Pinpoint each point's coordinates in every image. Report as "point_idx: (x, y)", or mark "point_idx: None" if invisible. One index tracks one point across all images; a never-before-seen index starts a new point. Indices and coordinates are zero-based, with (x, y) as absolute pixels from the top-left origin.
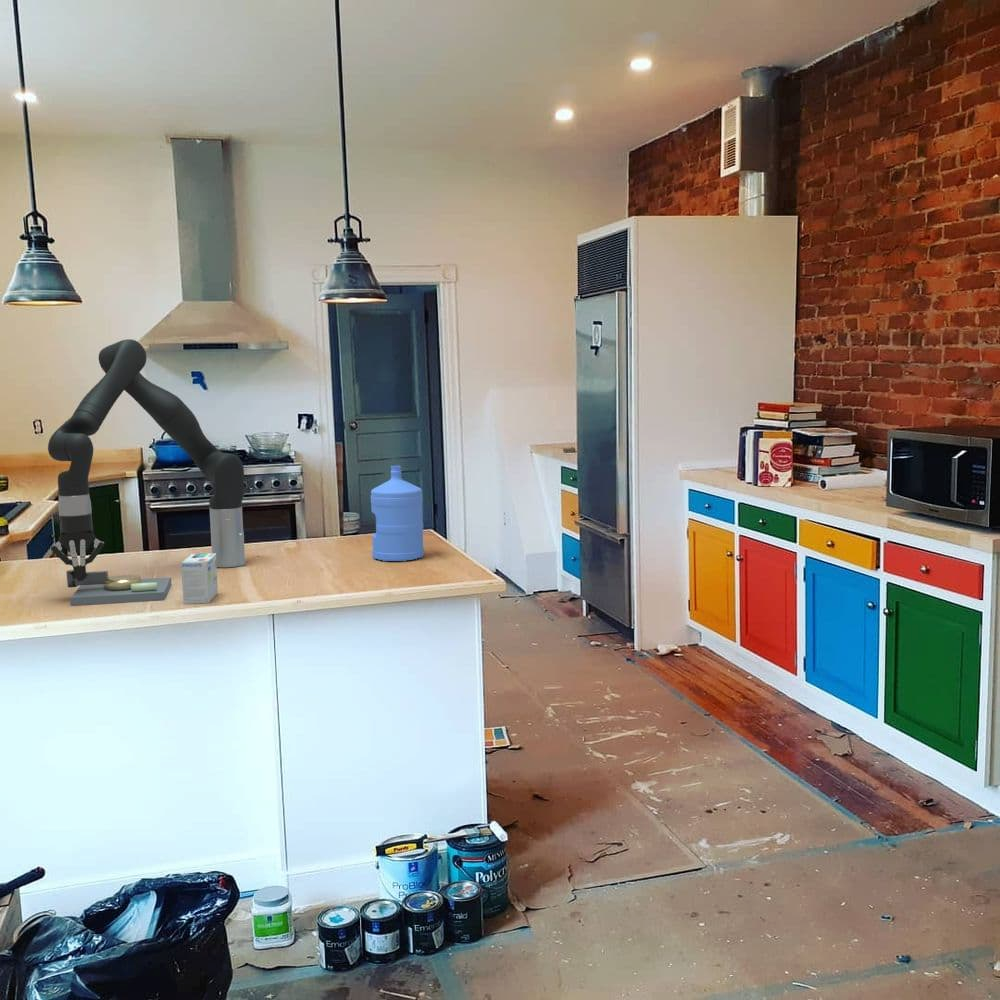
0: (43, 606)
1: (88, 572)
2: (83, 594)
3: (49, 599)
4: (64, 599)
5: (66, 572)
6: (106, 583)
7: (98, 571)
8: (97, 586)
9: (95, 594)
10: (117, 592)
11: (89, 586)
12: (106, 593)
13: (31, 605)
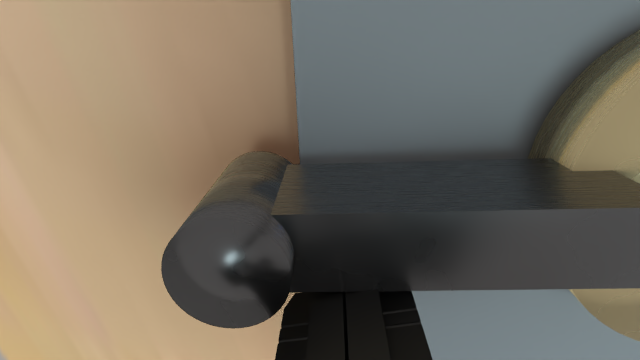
0: (163, 329)
1: (434, 242)
2: None
3: (120, 164)
4: None
5: (174, 286)
6: (573, 294)
7: (561, 211)
8: (456, 82)
9: (462, 349)
10: (612, 334)
11: (382, 63)
12: (536, 342)
13: (80, 293)
